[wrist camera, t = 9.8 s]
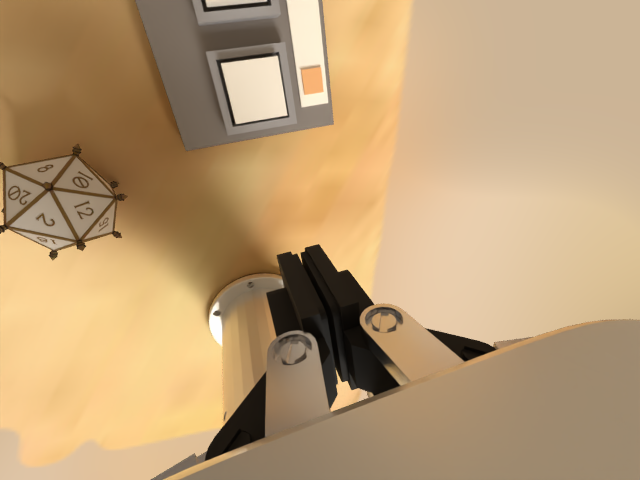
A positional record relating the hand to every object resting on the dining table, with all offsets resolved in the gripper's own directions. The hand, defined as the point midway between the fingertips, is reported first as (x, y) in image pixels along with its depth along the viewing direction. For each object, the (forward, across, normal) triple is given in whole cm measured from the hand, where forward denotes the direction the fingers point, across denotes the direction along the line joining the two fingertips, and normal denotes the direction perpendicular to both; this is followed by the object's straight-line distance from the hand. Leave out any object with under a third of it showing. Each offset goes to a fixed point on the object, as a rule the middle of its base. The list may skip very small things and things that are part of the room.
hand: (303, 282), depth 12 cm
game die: (+23, +15, -1) cm, 28 cm away
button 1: (+20, -2, -7) cm, 21 cm away
